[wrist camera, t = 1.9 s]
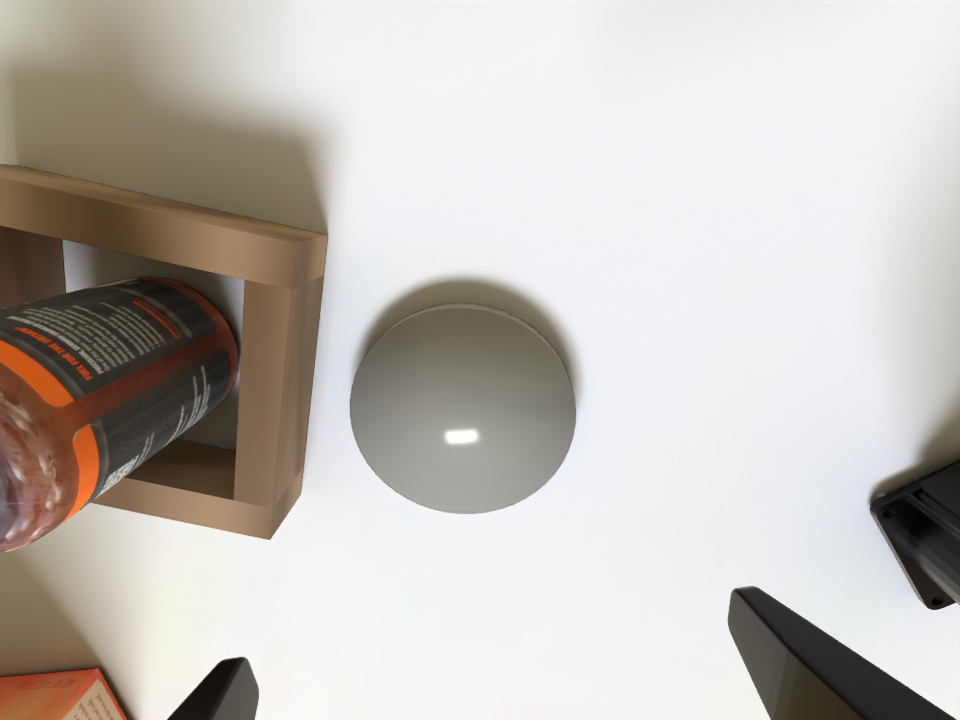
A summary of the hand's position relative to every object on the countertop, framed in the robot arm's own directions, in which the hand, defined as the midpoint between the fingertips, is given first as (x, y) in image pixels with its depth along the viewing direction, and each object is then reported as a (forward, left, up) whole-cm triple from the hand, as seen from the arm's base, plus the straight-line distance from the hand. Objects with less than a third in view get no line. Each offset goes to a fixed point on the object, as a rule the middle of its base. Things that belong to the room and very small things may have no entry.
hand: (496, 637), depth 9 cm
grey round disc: (0, +2, -11) cm, 11 cm away
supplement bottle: (+9, +10, -12) cm, 18 cm away
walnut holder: (+9, +10, -11) cm, 18 cm away
